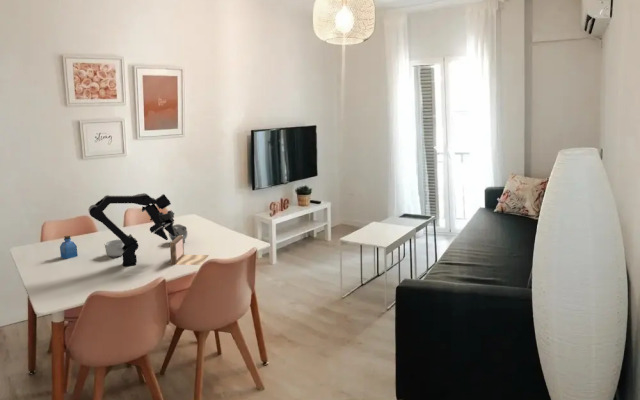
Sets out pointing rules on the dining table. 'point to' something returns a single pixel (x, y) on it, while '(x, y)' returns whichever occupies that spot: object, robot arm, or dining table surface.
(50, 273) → the dining table surface
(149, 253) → the dining table surface
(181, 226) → the piggy bank
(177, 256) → the brown wooden slab
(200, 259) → the light tan wooden board
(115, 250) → the teacup
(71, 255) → the perfume bottle
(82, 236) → the dining table surface
